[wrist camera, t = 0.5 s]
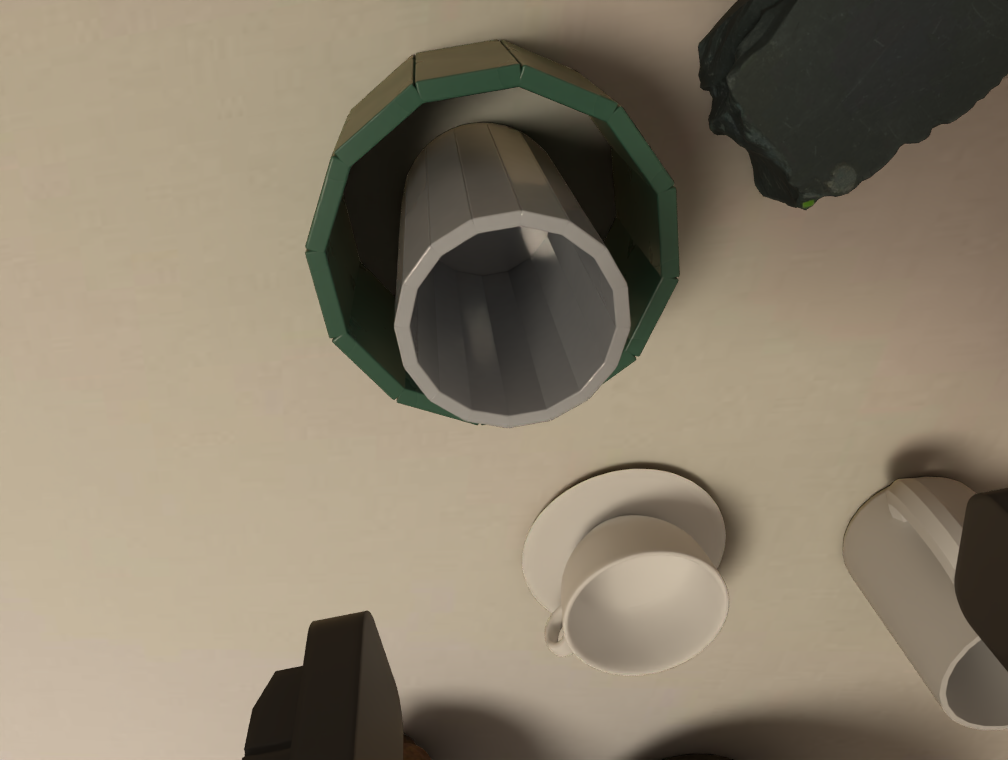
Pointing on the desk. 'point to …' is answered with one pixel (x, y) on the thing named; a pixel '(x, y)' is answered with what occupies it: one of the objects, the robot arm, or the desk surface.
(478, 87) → the bucket
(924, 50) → the stone
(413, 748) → the sculpture
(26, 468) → the desk surface
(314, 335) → the desk surface
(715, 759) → the planter
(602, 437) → the desk surface
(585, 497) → the teacup
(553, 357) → the steel cup
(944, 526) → the cup
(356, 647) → the robot arm
